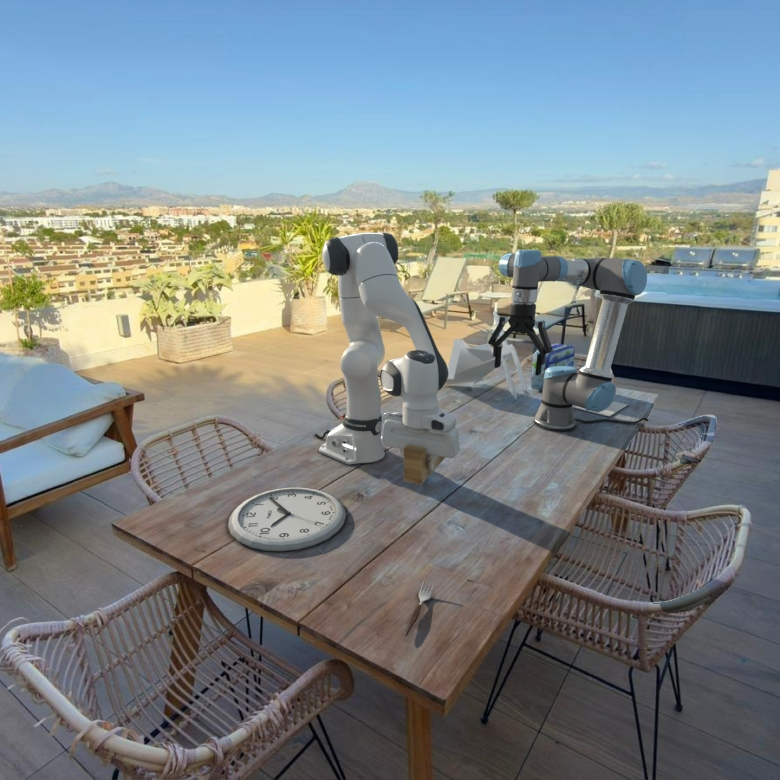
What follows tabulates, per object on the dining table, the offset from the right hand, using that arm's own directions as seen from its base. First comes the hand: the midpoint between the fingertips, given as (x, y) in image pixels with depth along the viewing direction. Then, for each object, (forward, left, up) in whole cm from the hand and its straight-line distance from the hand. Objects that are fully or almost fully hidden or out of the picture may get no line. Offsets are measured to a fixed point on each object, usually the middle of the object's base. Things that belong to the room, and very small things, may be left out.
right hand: (517, 370), depth 164 cm
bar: (+25, +31, -19) cm, 44 cm away
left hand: (+28, +39, -16) cm, 51 cm away
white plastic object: (+6, -73, -30) cm, 80 cm away
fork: (+25, +76, -30) cm, 85 cm away
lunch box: (-28, -86, -30) cm, 96 cm away
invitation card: (-45, -61, -30) cm, 82 cm away
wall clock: (+61, +46, -30) cm, 82 cm away
